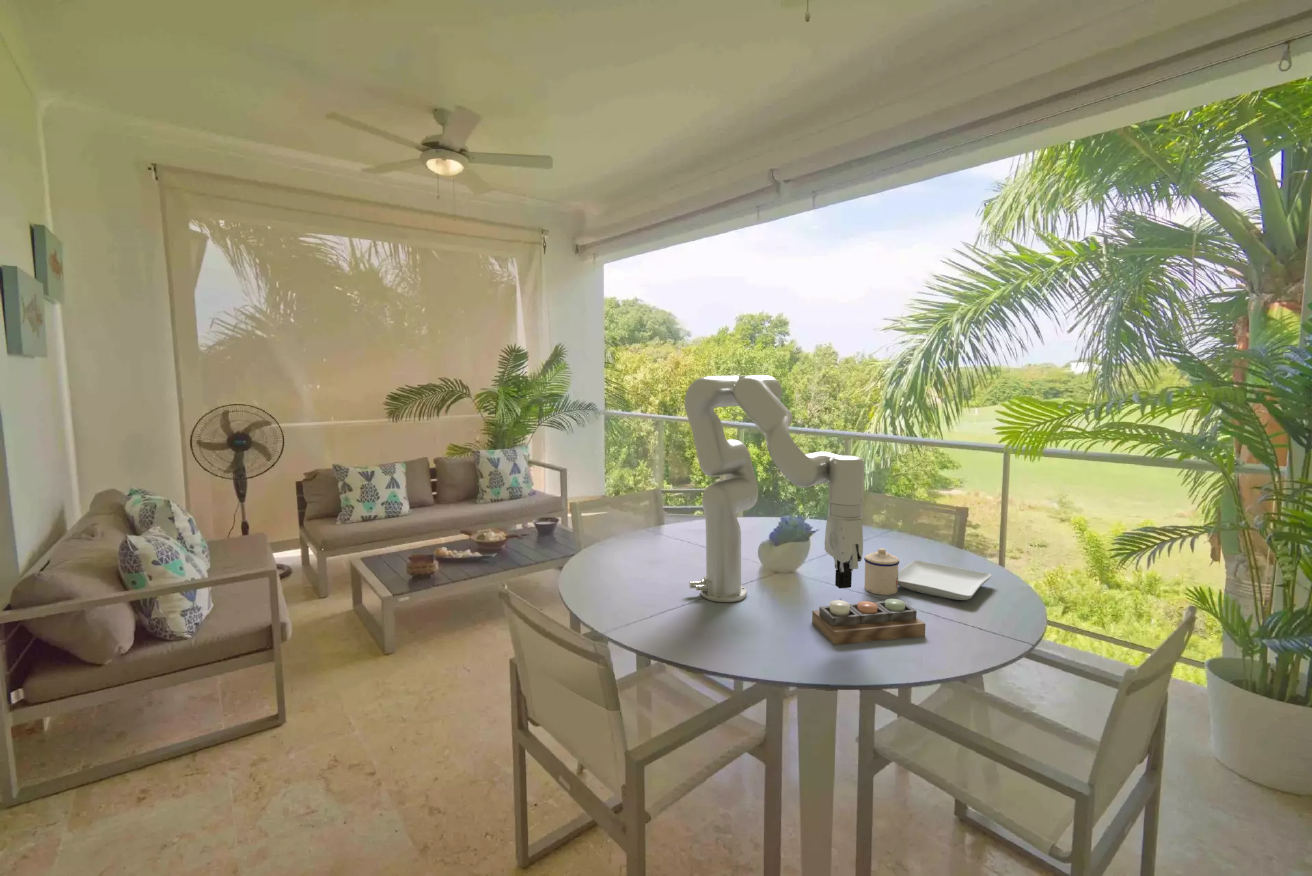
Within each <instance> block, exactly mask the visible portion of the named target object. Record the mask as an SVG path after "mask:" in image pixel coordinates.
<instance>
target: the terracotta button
mask: <svg viewBox="0 0 1312 876" xmlns="http://www.w3.org/2000/svg"><path fill="white" fill-rule="evenodd" d="M873 602H874V601H867V600H863V601H862V600H861V601H858V602H857V603H858V609H857V610H858V611H859V612H861V613H862V614H870V613H877V607H878V606H877V604H875V603H873Z"/></svg>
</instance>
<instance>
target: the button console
mask: <svg viewBox="0 0 1312 876" xmlns="http://www.w3.org/2000/svg"><path fill="white" fill-rule="evenodd" d="M872 602H873V603H875V604H877V606H878V607H877V613H870V614H862V613H861V612H859V611H858V610H857V609H858V602H857V603H849V604H850V609H849V615H847V616H833V615H832V614H831V613H830V605H823V606H819V608H818V609H815V610H811V611H812V613H811V615H812V616H811V617H812V619H811V622H812V624H813V625H814V626H815V627H816V628H818V631H820V632H821V633H822V634H824V635H825V637H826V638H827V639H829V641H831V643H833V644H834V646H836V645H847V644H848V645H849V644H856V643H857V644H859V643H869V642H878V641H888V640H889V641H890V640H901V639H907V638H908V639H911V638H919V637H926V623H925V622H924V621H922V620H921V619H919V618H918V617H917V613H918V612H917V610H916V609H915V608H913V607H912V606H910V605H908V604H906V603H905V610H904V611H893V612H891V611H889V610H888V609H886V608H885V600H883V601H882V600H881V601H872Z"/></svg>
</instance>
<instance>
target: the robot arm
mask: <svg viewBox="0 0 1312 876" xmlns="http://www.w3.org/2000/svg"><path fill="white" fill-rule="evenodd" d="M782 394H783V389H782V387H781V384H780V382H779V381H778V380H777V379H776V378H775V377H774V376H771V375H768V374H766V375H765V374H762V375H759V374H758V375H753V374H752V375H708V376H706V375H705V376H703V377H700V378H699V377H698V378H697V379H696V380H694V381H693V382H692V383H691V384H690V385H689V386H688V388H687V390H686V392H685V395H684V409H685V412H686V416H687V419H688V422H689V426H690V428H691V432H692V439H693V442H694V446H695V450H696V455H697V456H696V457H697V459H698V463H699V468H700V470H701V472H702V473H703V474H704V475H705V476H707V477H711V478H712V477H721V476H725V479H723V480H722V479H721V480H718V481H716V482H713V483H711V484H709V485H708V486H707V487H706V488H705V489H704V491H703V493H702V496H701V503H702V509H703V515H704V521H705V551H706V552H705V558H706V559H705V561H706V562H705V563H706V564H705V566H706V567H705V569H706V575H704V576H703V579H700V580H690V581H689V583H688V585H689V586H688V587H689V589H695V590H696V591H700V594H701V596H702V597H703V598H704V599H706V600H709V601H712V602H718V603H734V602H739V601H742V600H744V599H745V598H746V597H747V595H748V591H747V590H748V589H747V588H746V587H744V585H742V531H741V524H740V522H739V520H738V517H737V514H738V513H742V512H744V511H747V510H750V509H751V508H753V507H754V506H755V505H756V504H757V502H758V499H759V487H758V483H757V479H756V474H755V469H754V466H753V462H752V458H751V453H750V451H749V450H748V447H747V446H746V445H745V444H744V443H743V442H742V441H741V440H737V439H733V438H730V439H727V437H726V434H725V431H724V425H723V423H722V421H721V419H720V418H719V416H718V415H717V413H716V412H715V408H724V407H725V408H726V407H739V408H741V410H742V411H743V412H744V413H745V414H746V415H747V417H748V418H749V419H750V420H751V421H752V423H753V424H754V425H755V426H756V427H757V428H758V429H759V430H760V432H761V433H762V434H763V435H764V438H765V444H766V445H765V446H766V447H767V451H768V454H769V456H770V459H771V461H772V463H773V464H774V465H775V466H776V467H777V468H778V470H779V471H780V473H781V474H782V475H783V476H784V477H785V478H786V479H787V480H788V481H789V482H790V483H792V484H793V485H795V486H797V487H799V488H805V489H806V488H810V487H814V486H817V485H821V484H822V485H823V484H826V483H828V510H827V511H828V512H827V517H826V523H825V531H824V532H825V533H824V535H825V536H824V550H825V553H827V554H828V555H829V556H831V557H832V558H833V561H834V569H835V576H834V577H835V580H834V581H835V582H834V583H835V584H834V585H835V586H836V587H837V588H838V589H850V588H851V587H852V577H853V574H852V573H853V571H854V570H858V569H859V563H860V562H861V561H862V560H863V553H864V532H863V531H864V530H863V521H862V518H863V517H864V516H863V514H864V511H863V510H864V488H865V487H864V485H865V483H864V482H865V461H864V459H862V458H861V457H860V456H857V455H856V456H855V455H847V454H846V455H844V454H843V455H839V454H835V453H832V452H829V451H815V452H809V453H808V452H807V453H804V452H803V451H802V450H801V448H800V447H799V446H798V445H797V444H796V443H795V442H794V440H793V438H792V436H791V435H790V430H789V427H790V425H791V424H792V422H793V419H794V418H793V414H792V412H791V411H790V410H789V408H787V407H786V406H785V404H784V403H782V401H781V400H782V399H781V398H782Z"/></svg>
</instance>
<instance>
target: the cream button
mask: <svg viewBox="0 0 1312 876" xmlns="http://www.w3.org/2000/svg"><path fill="white" fill-rule="evenodd" d="M850 604H851V603H849V602H847V601H846V600H841V599H835V600H831V601H830V602H829V606H830V613H831V614H832V615H833V616H847V615H849V609H850Z"/></svg>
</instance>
